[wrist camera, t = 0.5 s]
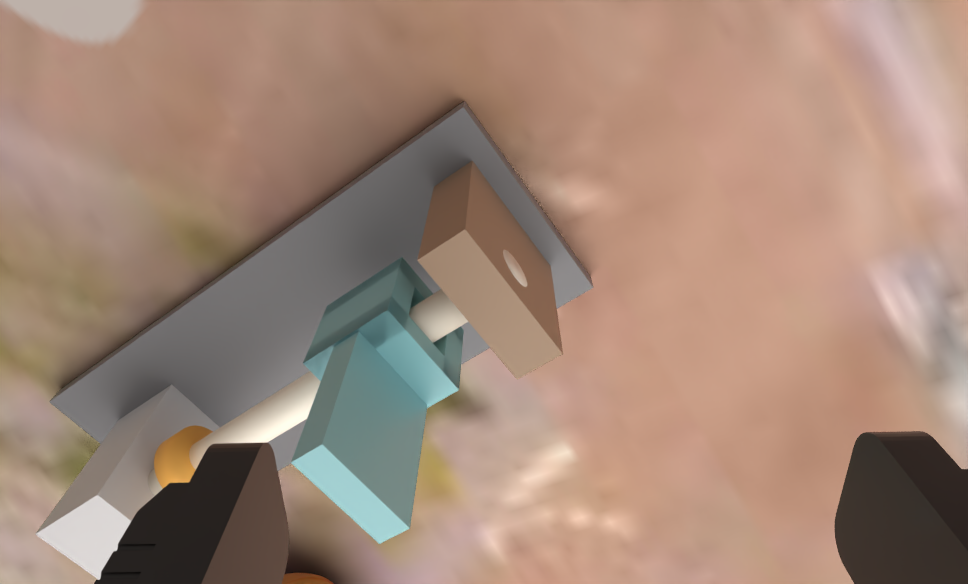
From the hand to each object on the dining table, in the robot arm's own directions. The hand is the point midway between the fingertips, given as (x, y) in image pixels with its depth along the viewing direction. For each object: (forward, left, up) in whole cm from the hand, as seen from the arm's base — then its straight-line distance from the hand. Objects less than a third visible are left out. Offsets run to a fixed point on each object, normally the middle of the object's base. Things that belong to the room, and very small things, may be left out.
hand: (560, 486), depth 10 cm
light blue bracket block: (+9, +4, -18) cm, 21 cm away
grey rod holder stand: (+15, +4, -22) cm, 27 cm away
